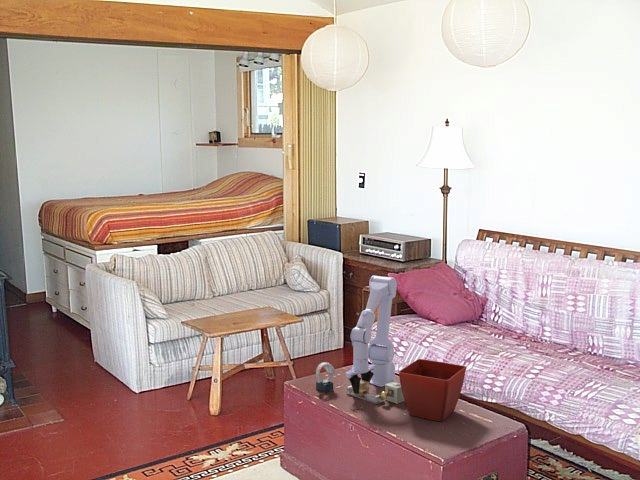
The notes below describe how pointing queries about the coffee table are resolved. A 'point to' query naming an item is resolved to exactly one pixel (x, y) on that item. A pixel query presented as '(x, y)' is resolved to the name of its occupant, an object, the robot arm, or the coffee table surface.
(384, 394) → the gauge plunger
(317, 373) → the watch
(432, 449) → the coffee table surface
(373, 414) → the coffee table surface
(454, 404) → the plant pot
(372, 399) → the rail
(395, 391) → the cabinet
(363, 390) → the carriage
